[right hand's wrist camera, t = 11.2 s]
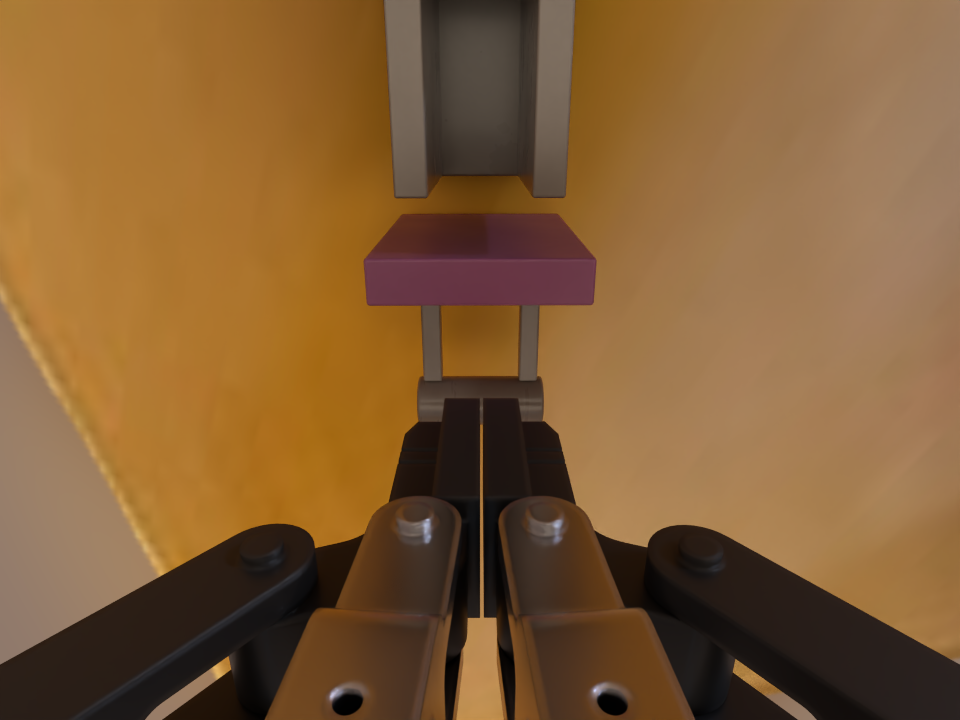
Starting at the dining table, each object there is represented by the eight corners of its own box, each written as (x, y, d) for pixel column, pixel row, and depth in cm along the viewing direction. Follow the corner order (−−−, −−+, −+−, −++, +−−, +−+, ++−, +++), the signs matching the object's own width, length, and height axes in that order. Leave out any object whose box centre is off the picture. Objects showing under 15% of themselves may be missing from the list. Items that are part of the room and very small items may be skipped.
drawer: (551, 376, 24) (581, 483, 17) (409, 376, 24) (379, 483, 17) (587, -437, 16) (679, -912, 8) (369, -436, 16) (275, -911, 8)
